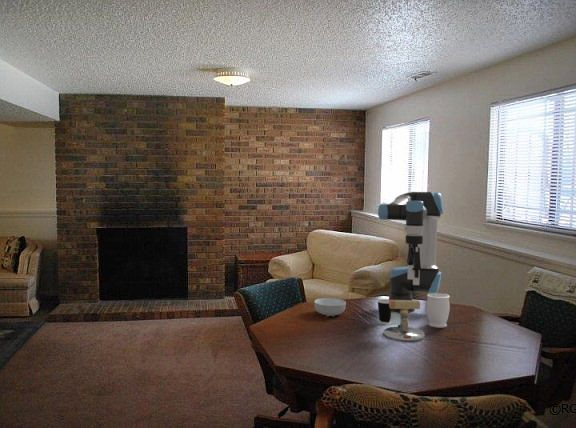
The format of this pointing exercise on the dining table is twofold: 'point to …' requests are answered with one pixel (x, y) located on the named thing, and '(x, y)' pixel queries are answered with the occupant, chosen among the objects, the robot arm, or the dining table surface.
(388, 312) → the dixie cup
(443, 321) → the jar
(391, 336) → the post base
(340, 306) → the cereal bowl
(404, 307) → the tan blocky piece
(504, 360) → the dining table surface
